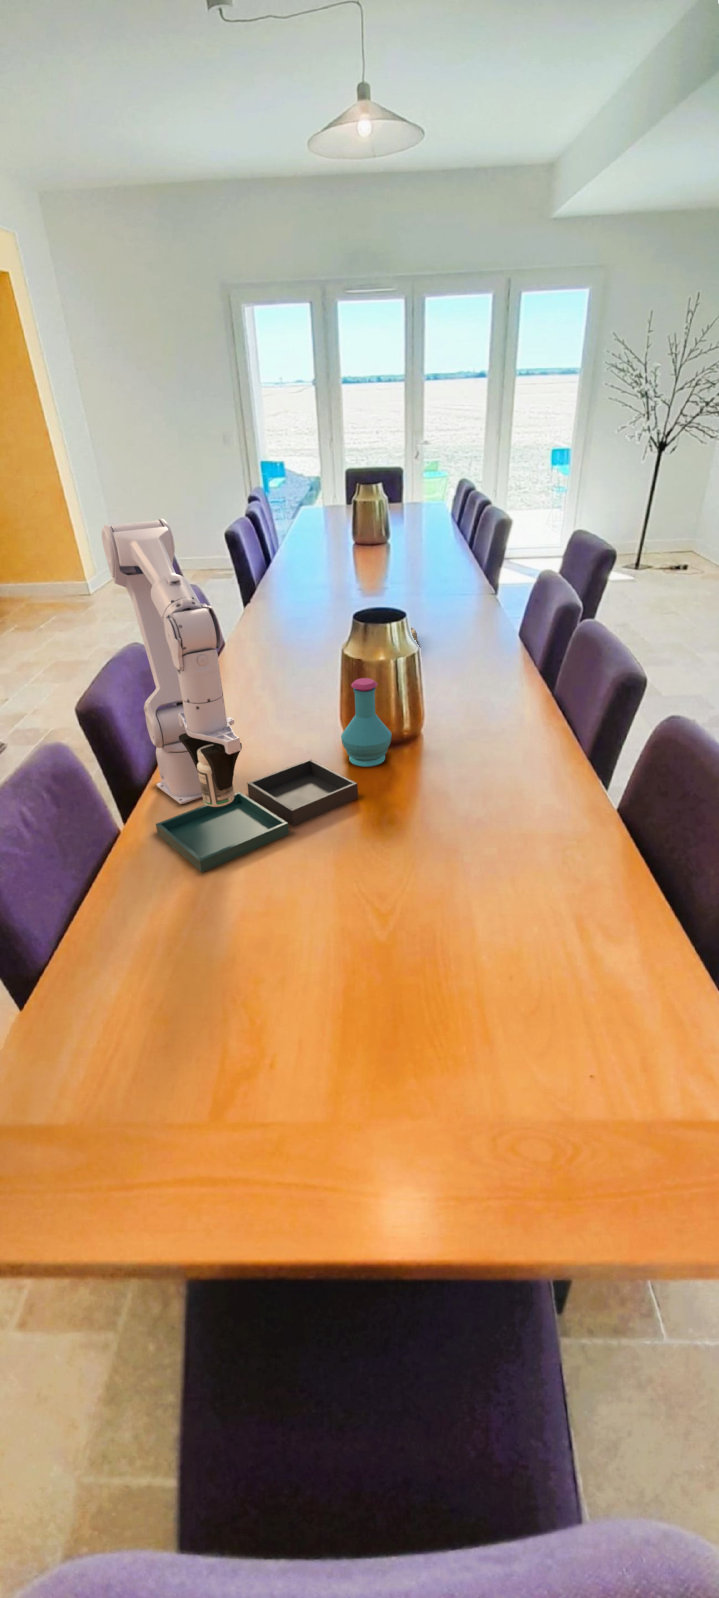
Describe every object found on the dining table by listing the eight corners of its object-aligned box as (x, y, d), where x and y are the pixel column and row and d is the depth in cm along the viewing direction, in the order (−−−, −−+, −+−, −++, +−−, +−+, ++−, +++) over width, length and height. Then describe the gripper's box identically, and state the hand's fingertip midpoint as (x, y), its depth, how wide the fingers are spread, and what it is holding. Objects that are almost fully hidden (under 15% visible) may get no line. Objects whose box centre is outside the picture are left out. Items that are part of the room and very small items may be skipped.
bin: (248, 797, 122) (246, 782, 121) (311, 772, 129) (310, 758, 128) (293, 826, 113) (291, 810, 112) (358, 798, 120) (357, 783, 119)
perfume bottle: (387, 771, 128) (385, 691, 121) (337, 768, 130) (332, 689, 123) (395, 749, 136) (394, 673, 129) (348, 747, 138) (344, 672, 131)
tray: (157, 834, 112) (155, 823, 111) (241, 801, 121) (239, 791, 120) (201, 872, 103) (199, 861, 102) (289, 834, 111) (288, 823, 110)
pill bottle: (239, 793, 110) (231, 743, 106) (228, 808, 106) (220, 757, 102) (209, 792, 111) (201, 742, 107) (198, 807, 107) (189, 755, 103)
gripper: (254, 701, 98) (265, 789, 105) (202, 677, 108) (215, 758, 115) (209, 715, 94) (223, 806, 101) (159, 689, 104) (175, 772, 111)
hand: (216, 782), depth 107 cm, fingers closed on pill bottle, 5 cm apart
